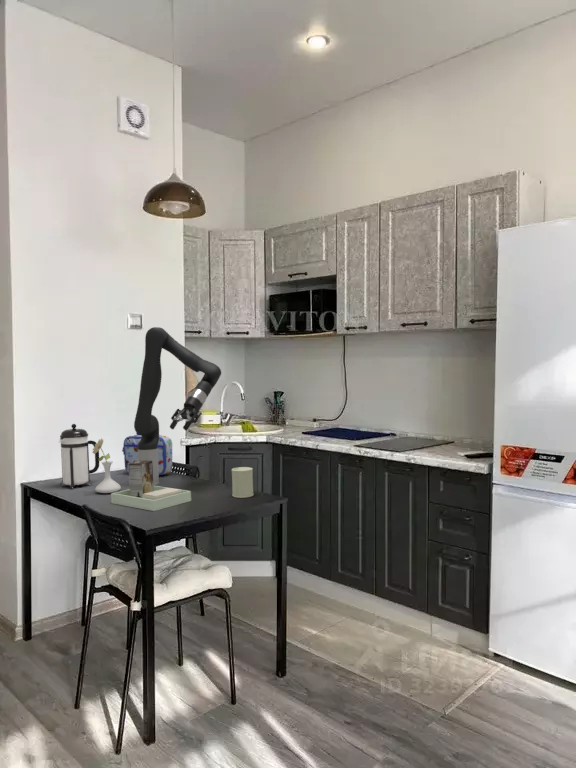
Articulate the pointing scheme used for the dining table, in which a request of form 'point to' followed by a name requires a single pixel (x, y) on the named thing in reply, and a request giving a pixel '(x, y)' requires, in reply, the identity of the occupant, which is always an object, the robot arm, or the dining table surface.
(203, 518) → the dining table surface
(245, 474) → the can
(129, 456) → the lunch box
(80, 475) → the coffee press
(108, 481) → the flower in vase
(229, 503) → the dining table surface
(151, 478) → the coffee box
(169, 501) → the tray
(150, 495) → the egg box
